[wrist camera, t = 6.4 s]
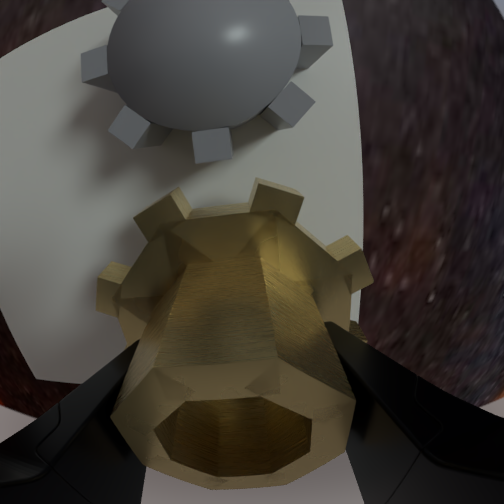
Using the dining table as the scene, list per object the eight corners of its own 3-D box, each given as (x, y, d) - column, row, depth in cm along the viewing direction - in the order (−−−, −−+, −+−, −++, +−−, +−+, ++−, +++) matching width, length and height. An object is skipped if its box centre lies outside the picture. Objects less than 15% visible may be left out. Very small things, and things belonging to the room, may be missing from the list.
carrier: (46, 363, 15) (14, 414, 11) (-25, 89, 9) (-85, 89, 5) (344, 348, 15) (373, 414, 11) (327, -5, 9) (366, -57, 5)
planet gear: (150, 399, 11) (125, 503, 7) (85, 202, 8) (-29, 271, 4) (349, 381, 12) (388, 484, 7) (360, 169, 8) (480, 214, 4)
